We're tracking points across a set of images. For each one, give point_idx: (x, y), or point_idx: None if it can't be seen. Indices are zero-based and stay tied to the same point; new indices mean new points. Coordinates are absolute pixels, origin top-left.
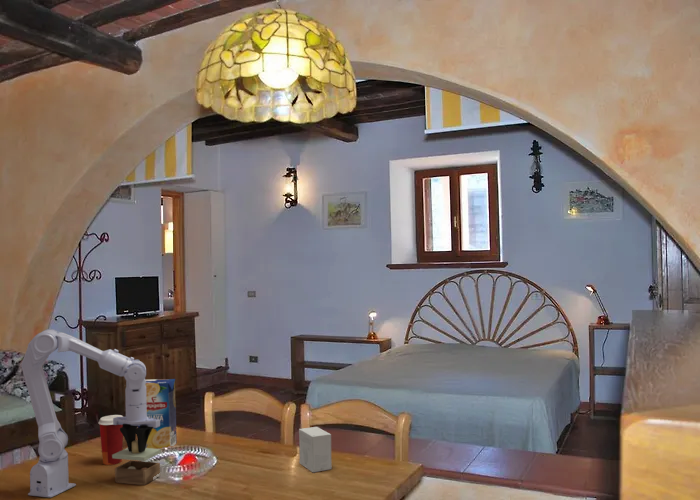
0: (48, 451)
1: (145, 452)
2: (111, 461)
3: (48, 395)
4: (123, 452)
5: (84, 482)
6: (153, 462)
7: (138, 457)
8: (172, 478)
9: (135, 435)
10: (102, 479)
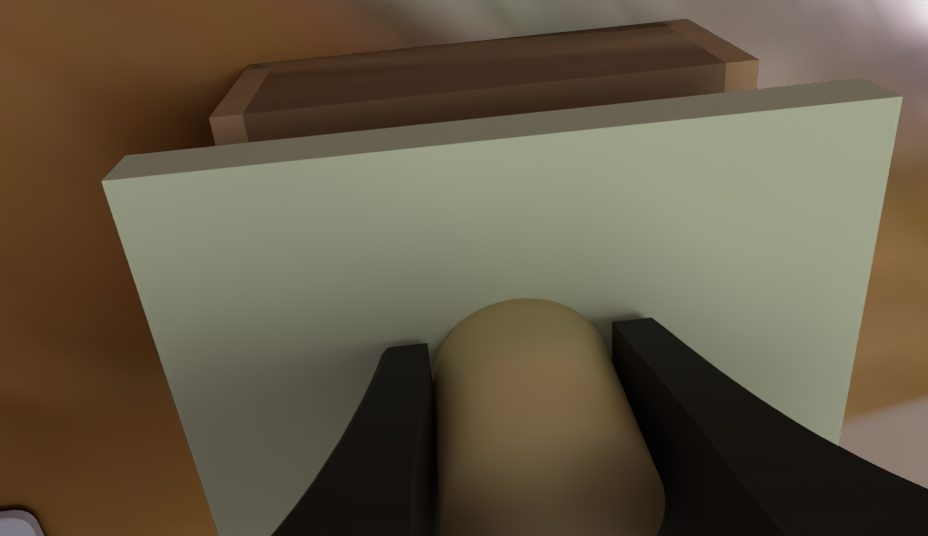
0: None
1: (695, 349)
2: None
3: None
4: (308, 464)
5: (3, 423)
6: (648, 79)
7: None
8: (873, 13)
9: (411, 511)
10: (90, 309)
